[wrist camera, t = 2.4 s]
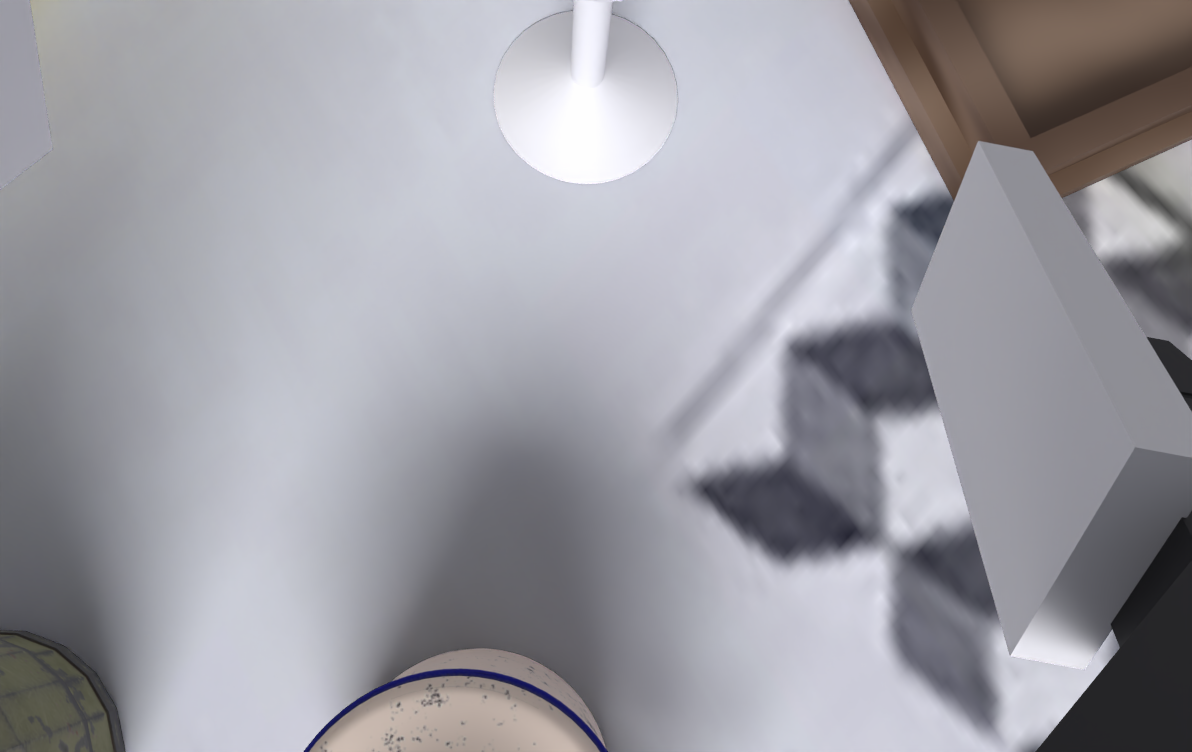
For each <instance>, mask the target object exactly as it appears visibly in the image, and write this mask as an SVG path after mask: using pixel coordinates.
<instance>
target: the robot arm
mask: <svg viewBox="0 0 1192 752" xmlns="http://www.w3.org/2000/svg"><path fill="white" fill-rule="evenodd" d="M52 149H53V146H52V140H51V133H50V127H49V121H48V114H47V108H46V101H45V95H44V88H43V82H42V76H41V69H40V63H39V56H38V50H37V43H36V37H35V30H34V24H33V18H32V11H31V5H30V0H0V190H1V189H2V188H3V187H5V186H6V185H7V184H8V183H10V182H11V181H12V180H14V179H15V178H16V177H17V176H19V175H20V174H21V173H23V172H24V171H25V170H27V169H28V168H29V167H30V166H32V165H33V164H34V163H36V162H37V161H38V160H39V159H41V158H42V157H43V156H45V155H46V154H47V153H49V152H50V151H51V150H52ZM911 311H912V314H913V318H914V321H915V325H916V328H917V332H918V335H919V339H920V342H921V346H922V349H923V353H924V356H925V360H926V363H927V367H928V370H929V374H930V377H931V381H932V384H933V388H934V391H935V395H936V398H937V402H938V405H939V409H940V412H941V416H942V420H943V423H944V427H945V430H946V434H947V437H948V441H949V444H950V448H951V451H952V455H953V458H954V462H955V465H956V469H957V472H958V476H959V479H960V483H961V486H962V490H963V493H964V497H965V500H966V504H967V507H968V511H969V514H970V518H971V521H972V525H973V528H974V532H975V535H976V539H977V542H978V546H979V549H980V553H981V556H982V560H983V563H984V567H985V570H986V574H987V577H988V581H989V584H990V588H991V591H992V595H993V598H994V602H995V605H996V609H997V612H998V616H999V619H1000V623H1001V626H1002V630H1003V633H1004V637H1005V640H1006V644H1007V647H1008V651H1009V654H1010V656H1011V657H1017V658H1022V659H1028V660H1033V661H1038V662H1044V663H1049V664H1055V665H1060V666H1066V667H1071V668H1077V669H1082V670H1085V669H1086V667H1087V666H1088V664H1089V663H1090V661H1091V660H1092V658H1093V657H1094V655H1095V654H1096V652H1097V651H1098V650H1099V648H1100V647H1101V645H1102V644H1103V642H1104V641H1105V639H1106V638H1107V636H1108V635H1109V633H1110V632H1111V630H1112V629H1113V631H1114V634H1115V636H1116V639H1117V641H1118V644H1119V646H1120V649H1119V650H1118V651H1117V653H1116V654H1115V655H1114V656H1113V657H1112V659H1111V660H1110V661H1109V662H1108V664H1107V665H1106V666H1105V667H1104V669H1103V670H1102V671H1101V672H1100V673H1099V675H1098V676H1097V677H1096V678H1095V680H1094V681H1093V682H1092V683H1091V684H1090V686H1089V687H1088V688H1087V689H1086V691H1085V692H1084V693H1083V694H1082V695H1081V697H1080V698H1079V699H1078V700H1077V702H1076V703H1075V704H1074V705H1073V707H1072V708H1071V709H1070V710H1069V711H1068V713H1067V714H1066V715H1065V716H1064V718H1063V719H1062V720H1061V721H1060V722H1059V724H1058V725H1057V726H1056V727H1055V729H1054V730H1053V731H1052V732H1051V733H1050V735H1049V736H1048V737H1047V738H1046V740H1045V741H1044V742H1043V743H1042V745H1041V746H1040V747H1039V748H1038V749H1037V751H1036V752H1192V360H1191V359H1189V358H1188V357H1187V356H1186V355H1185V354H1183V353H1182V352H1181V351H1180V350H1179V349H1178V348H1176V347H1175V346H1174V345H1173V344H1172V343H1170V342H1169V341H1165V340H1160V339H1155V338H1149V337H1146V336H1145V334H1144V333H1143V331H1142V329H1141V328H1140V326H1139V324H1138V323H1137V321H1136V319H1135V318H1134V316H1133V314H1132V313H1131V311H1130V310H1129V308H1128V306H1127V305H1126V303H1125V301H1124V300H1123V298H1122V296H1121V295H1120V293H1119V291H1118V290H1117V288H1116V287H1115V285H1114V283H1113V282H1112V280H1111V278H1110V277H1109V275H1108V273H1107V272H1106V270H1105V268H1104V267H1103V265H1102V264H1101V262H1100V260H1099V259H1098V257H1097V255H1096V254H1095V252H1094V250H1093V249H1092V247H1091V246H1090V244H1089V242H1088V241H1087V239H1086V237H1085V236H1084V234H1083V232H1082V231H1081V229H1080V227H1079V226H1078V224H1077V223H1076V221H1075V219H1074V218H1073V216H1072V214H1071V213H1070V211H1069V209H1068V208H1067V206H1066V204H1065V203H1064V201H1063V200H1062V198H1061V196H1060V195H1059V193H1058V191H1057V190H1056V188H1055V186H1054V185H1053V183H1052V181H1051V180H1050V178H1049V177H1048V175H1047V173H1046V172H1045V170H1044V168H1043V167H1042V165H1041V163H1040V162H1039V160H1038V158H1037V157H1036V155H1035V154H1034V152H1033V151H1029V150H1024V149H1019V148H1013V147H1008V146H1003V145H998V144H992V143H987V142H982V141H978V143H977V145H976V148H975V150H974V153H973V155H972V158H971V160H970V163H969V165H968V168H967V170H966V173H965V175H964V178H963V180H962V183H961V185H960V188H959V190H958V193H957V196H956V198H955V201H954V203H953V206H952V208H951V211H950V213H949V216H948V218H947V221H946V223H945V226H944V228H943V231H942V233H941V236H940V238H939V241H938V244H937V246H936V249H935V251H934V254H933V256H932V259H931V261H930V264H929V266H928V269H927V271H926V274H925V276H924V279H923V281H922V284H921V286H920V289H919V291H918V294H917V297H916V299H915V302H914V304H913V307H912V309H911Z"/></svg>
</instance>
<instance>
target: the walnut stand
mask: <svg viewBox="0 0 1192 752" xmlns="http://www.w3.org/2000/svg"><path fill="white" fill-rule="evenodd" d="M849 2H850V4H851V5H852V7H853V9H854V11H855V13H856V15H857V17H858V19H859V21H860V23H861V25H862V26H863V28H864V30H865V32H866V34H867V36H868V38H869V40H870V42H871V44H872V45H873V47H874V49H875V51H876V53H877V55H878V57H879V59H880V61H881V63H882V64H883V66H884V68H885V70H886V72H887V74H888V76H889V78H890V80H891V82H892V83H893V85H894V87H895V89H896V91H897V93H898V95H899V97H900V99H901V101H902V102H903V104H904V106H905V108H906V110H907V112H908V114H909V116H910V118H911V120H912V122H913V123H914V125H915V127H916V129H917V131H918V133H919V135H920V137H921V139H922V141H923V142H924V144H925V146H926V148H927V150H928V152H929V154H930V156H931V158H932V160H933V161H934V163H935V165H936V167H937V169H938V171H939V173H940V175H941V177H942V179H943V180H944V182H945V184H946V186H947V188H948V190H949V192H950V194H951V196H952V198H953V200H954V201H955V198H956V196H957V193H958V190H959V188H960V185H961V183H962V180H963V178H964V175H965V173H966V170H967V168H968V165H969V163H970V160H971V158H972V155H973V153H974V150H975V148H976V145H977V143H978V141H982V142H987V143H992V144H998V145H1003V146H1008V147H1013V148H1019V149H1024V150H1029V151H1033V152H1034V154H1035V155H1036V157H1037V158H1038V160H1039V162H1040V163H1041V165H1042V167H1043V168H1044V170H1045V172H1046V173H1047V175H1048V177H1049V178H1050V180H1051V181H1052V183H1053V185H1054V186H1055V188H1056V190H1057V191H1058V193H1059V195H1060V196H1061V198H1063V197H1065V196H1067V195H1070V194H1072V193H1074V192H1076V191H1079V190H1081V189H1083V188H1085V187H1087V186H1090V185H1092V184H1094V183H1096V182H1098V181H1101V180H1103V179H1105V178H1107V177H1109V176H1112V175H1114V174H1116V173H1118V172H1121V171H1123V170H1125V169H1127V168H1129V167H1132V166H1134V165H1136V164H1138V163H1140V162H1143V161H1145V160H1147V159H1149V158H1151V157H1154V156H1156V155H1158V154H1160V153H1163V152H1165V151H1167V150H1169V149H1171V148H1174V147H1176V146H1178V145H1180V144H1182V143H1185V142H1187V141H1189V140H1191V139H1192V0H849Z"/></svg>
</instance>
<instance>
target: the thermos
mask: <svg viewBox="0 0 1192 752" xmlns="http://www.w3.org/2000/svg"><path fill="white" fill-rule="evenodd" d="M0 752H125V748H124V743H123V738H122V733H121V728H120V722H119V717H118V712H117V709H116V707H115V705H114V703H113V702H112V700H111V698H110V696H109V695H108V693H107V691H106V689H105V688H104V686H103V684H102V682H101V681H100V679H99V677H98V675H97V674H96V673H95V672H94V671H93V670H92V669H91V668H90V667H88V666H87V665H86V664H85V663H84V662H83V661H82V660H80V659H79V658H78V657H77V656H76V655H75V654H73V653H72V652H71V651H70V650H69V649H68V648H66V647H65V646H63V645H60V644H58V643H55V642H53V641H50V640H47V639H45V638H42V637H40V636H37V635H35V634H32V633H30V632H27V631H7V630H0Z"/></svg>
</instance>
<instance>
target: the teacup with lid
mask: <svg viewBox="0 0 1192 752" xmlns="http://www.w3.org/2000/svg"><path fill="white" fill-rule="evenodd" d="M304 752H608V751H607V750H606V747H605V744H604V741H603V737H602V734H601V732H600V730H599V728H598V725H597V723H596V721H595V719H594V717H593V716H592V714H591V712H590V710H589V709H588V707H587V706H586V704H585V703H584V701H583V700H582V699H581V698H580V696H579V695H578V694H577V693H576V692H575V690H574V689H573V688H572V687H571V686H570V685H569V684H568V683H566V682H565V681H564V680H563V679H562V678H561V677H559V676H558V675H557V674H556V673H554V672H553V671H551V670H550V669H548V668H547V667H545V666H544V665H542V664H540V663H538V662H536V661H534V660H532V659H529V658H527V657H524V656H522V655H519V654H515V653H512V652H508V651H503V650H497V649H486V648H471V649H462V650H455V651H450V652H446V653H442V654H439V655H436V656H434V657H431V658H428V659H426V660H424V661H422V662H420V663H418V664H416V665H414V666H412V667H411V668H409V669H407V670H406V671H404V672H403V673H401V674H400V675H399V676H397V677H396V678H395V679H394V680H392V681H391V682H389V683H387V684H385V685H383V686H380V687H378V688H376V689H374V690H372V691H371V692H369V693H367V694H365V695H364V696H362V697H360V698H359V699H357V700H356V701H354V702H353V703H352V704H350V705H349V706H347V707H346V708H345V709H343V710H342V711H341V712H340V713H339V714H338V715H336V716H335V717H334V718H333V719H332V720H331V721H330V722H329V723H328V724H327V725H326V726H325V727H324V728H323V729H322V730H321V731H320V732H319V733H318V734H317V735H316V736H315V738H314V739H313V740H312V742H311V743H310V744H309V745H308V747H307V748H306V749H305V750H304Z"/></svg>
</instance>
